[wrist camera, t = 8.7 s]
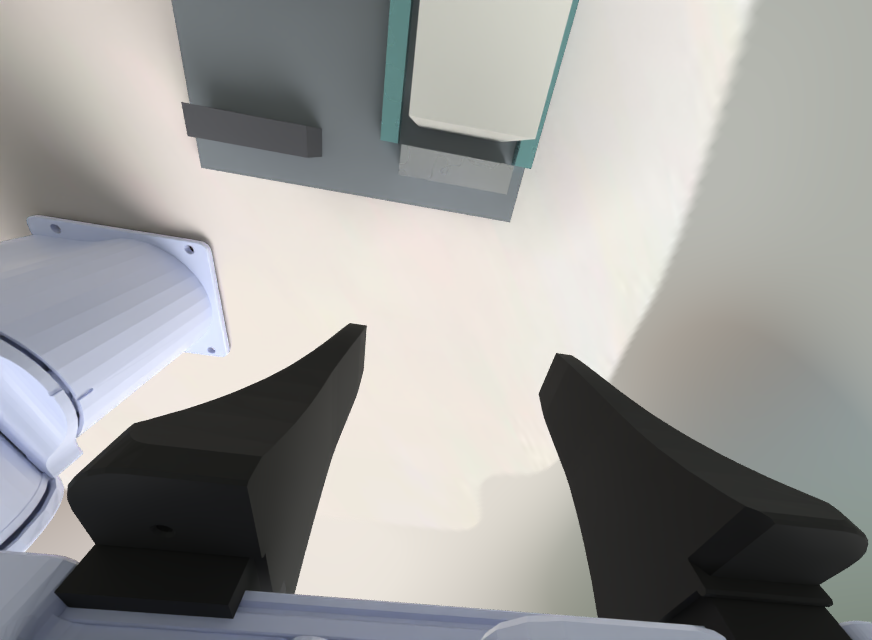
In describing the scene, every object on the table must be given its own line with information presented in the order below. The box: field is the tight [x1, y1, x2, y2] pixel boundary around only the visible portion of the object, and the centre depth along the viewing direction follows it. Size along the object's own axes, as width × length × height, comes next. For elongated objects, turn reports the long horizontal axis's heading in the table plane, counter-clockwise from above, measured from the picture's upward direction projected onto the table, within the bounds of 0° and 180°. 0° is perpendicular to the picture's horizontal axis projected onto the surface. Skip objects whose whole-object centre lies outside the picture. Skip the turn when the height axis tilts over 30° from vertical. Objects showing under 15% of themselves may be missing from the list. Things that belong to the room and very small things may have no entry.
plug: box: [409, 0, 573, 142], centre depth 11 cm, size 4×5×6 cm
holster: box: [181, 102, 322, 158], centre depth 12 cm, size 5×9×2 cm, turn 170°
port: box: [380, 0, 579, 195], centre depth 13 cm, size 7×9×2 cm
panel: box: [172, 0, 525, 222], centre depth 14 cm, size 16×12×1 cm
